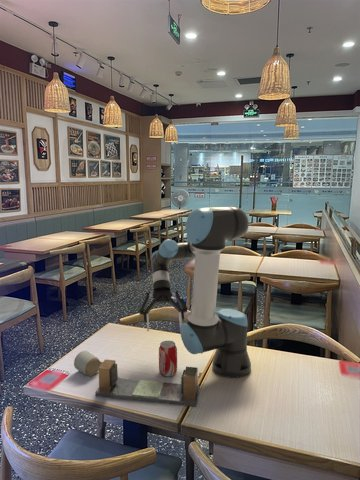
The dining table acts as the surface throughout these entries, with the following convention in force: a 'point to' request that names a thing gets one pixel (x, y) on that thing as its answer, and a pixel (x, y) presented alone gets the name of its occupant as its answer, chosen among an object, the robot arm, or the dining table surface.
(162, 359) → the soda can
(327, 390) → the dining table surface
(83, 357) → the ceramic mug
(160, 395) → the rail
